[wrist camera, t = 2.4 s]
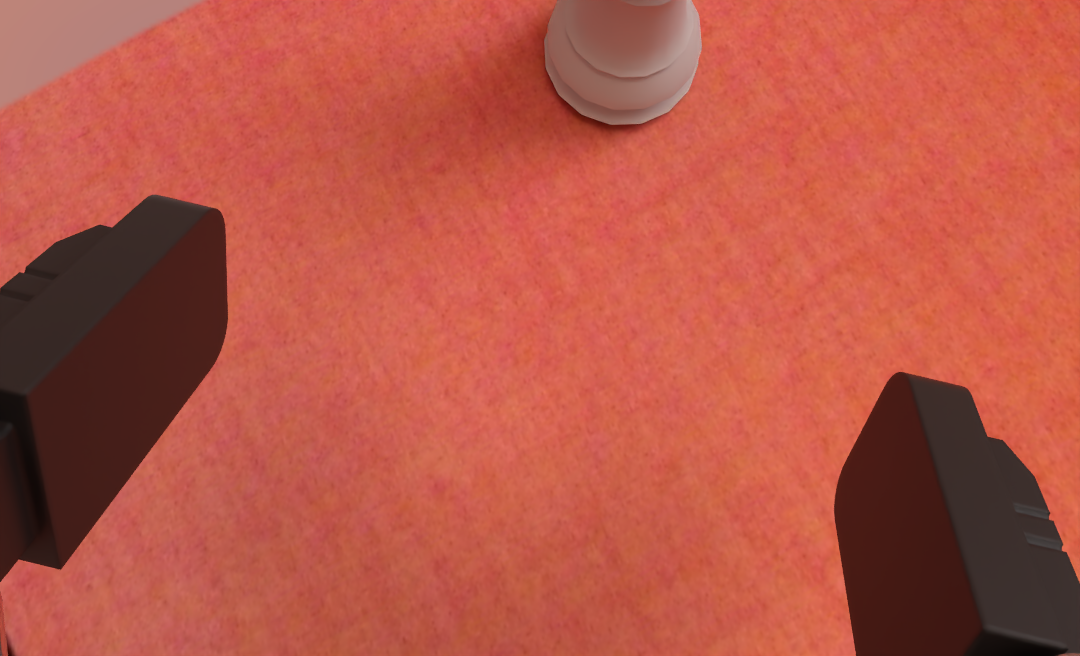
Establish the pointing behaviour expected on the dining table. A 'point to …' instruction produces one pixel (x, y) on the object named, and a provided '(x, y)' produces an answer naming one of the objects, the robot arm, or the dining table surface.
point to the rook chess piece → (622, 56)
